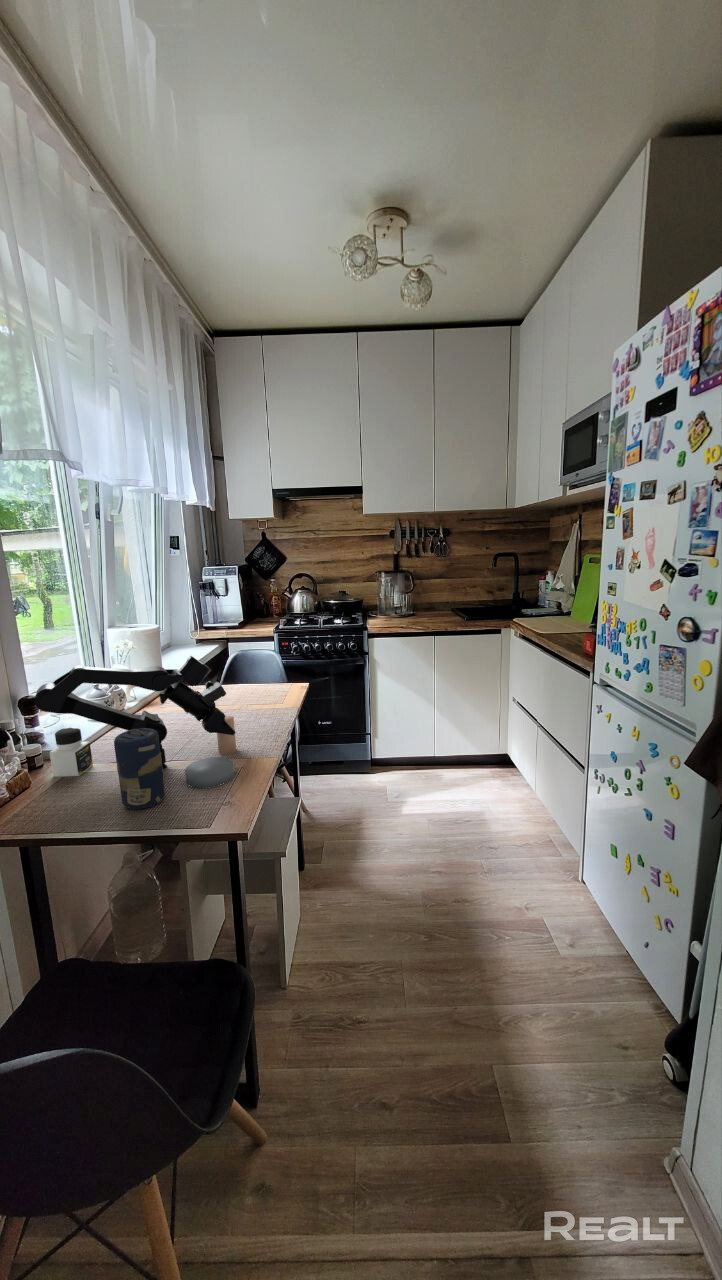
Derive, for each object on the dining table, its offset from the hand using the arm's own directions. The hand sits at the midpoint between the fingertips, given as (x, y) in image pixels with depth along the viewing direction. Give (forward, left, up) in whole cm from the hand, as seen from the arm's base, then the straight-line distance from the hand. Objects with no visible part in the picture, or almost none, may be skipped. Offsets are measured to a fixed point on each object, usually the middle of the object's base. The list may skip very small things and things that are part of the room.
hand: (230, 728), depth 148 cm
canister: (-30, -12, -7) cm, 33 cm away
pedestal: (-13, -12, -7) cm, 19 cm away
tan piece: (-1, 0, -7) cm, 7 cm away
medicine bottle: (-36, +21, -7) cm, 43 cm away
